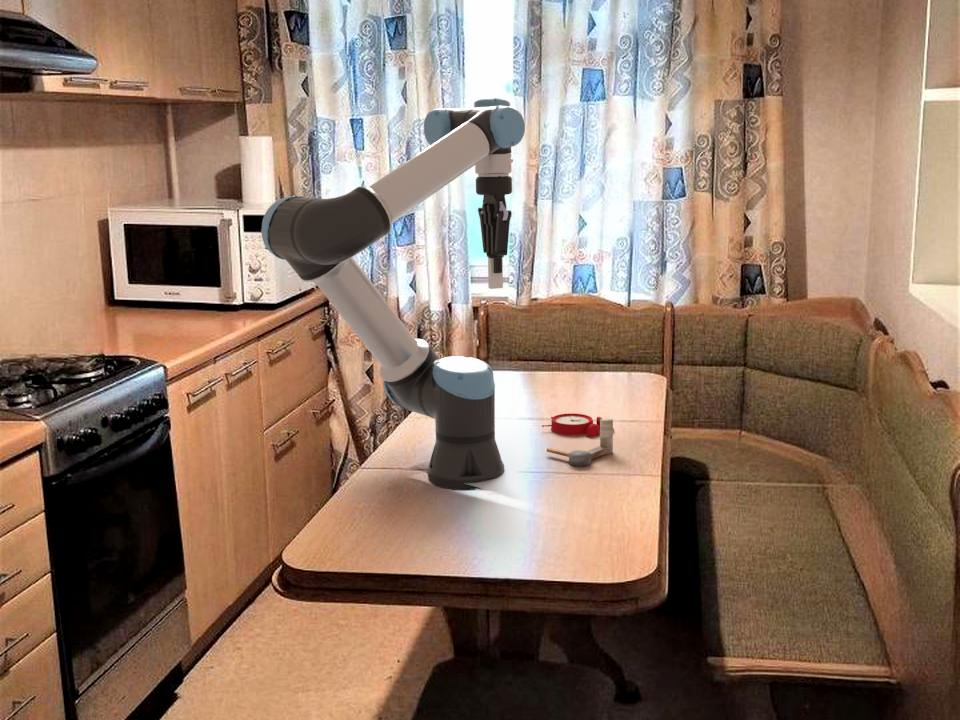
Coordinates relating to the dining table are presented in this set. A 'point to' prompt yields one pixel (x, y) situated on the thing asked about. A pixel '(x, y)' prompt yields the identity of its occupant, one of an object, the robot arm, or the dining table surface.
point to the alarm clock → (575, 425)
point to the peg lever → (585, 457)
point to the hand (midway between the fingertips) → (495, 287)
